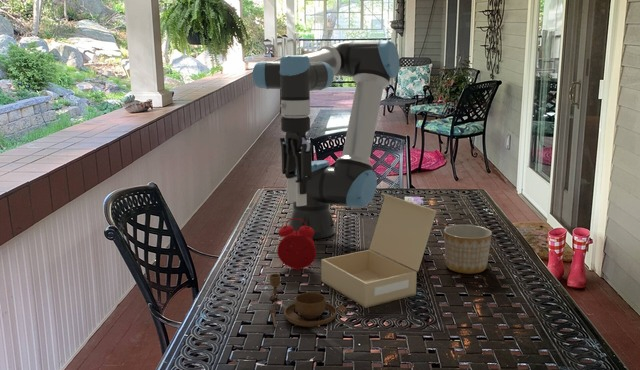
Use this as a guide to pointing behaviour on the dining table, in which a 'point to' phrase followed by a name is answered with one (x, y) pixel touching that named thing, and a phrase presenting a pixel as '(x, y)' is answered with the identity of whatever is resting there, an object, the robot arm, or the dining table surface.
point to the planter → (467, 248)
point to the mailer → (368, 278)
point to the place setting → (305, 307)
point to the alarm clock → (296, 246)
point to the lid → (402, 231)
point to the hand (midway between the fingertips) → (296, 203)
